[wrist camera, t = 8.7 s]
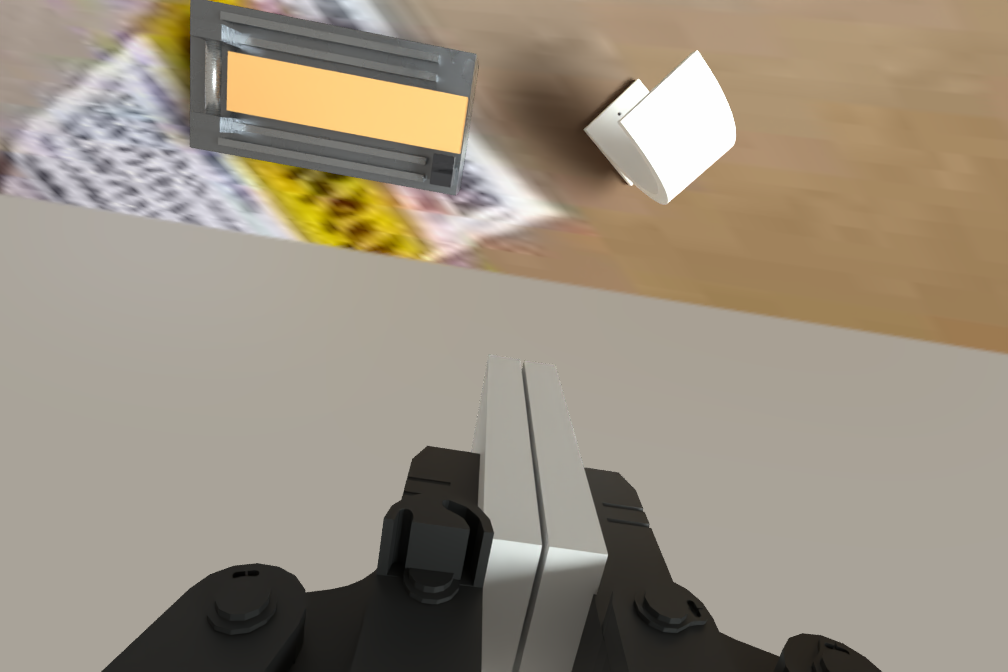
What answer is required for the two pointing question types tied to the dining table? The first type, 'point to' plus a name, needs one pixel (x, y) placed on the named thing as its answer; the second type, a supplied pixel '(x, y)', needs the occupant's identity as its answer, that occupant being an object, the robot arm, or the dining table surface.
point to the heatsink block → (328, 50)
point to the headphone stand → (666, 130)
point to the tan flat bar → (345, 102)
